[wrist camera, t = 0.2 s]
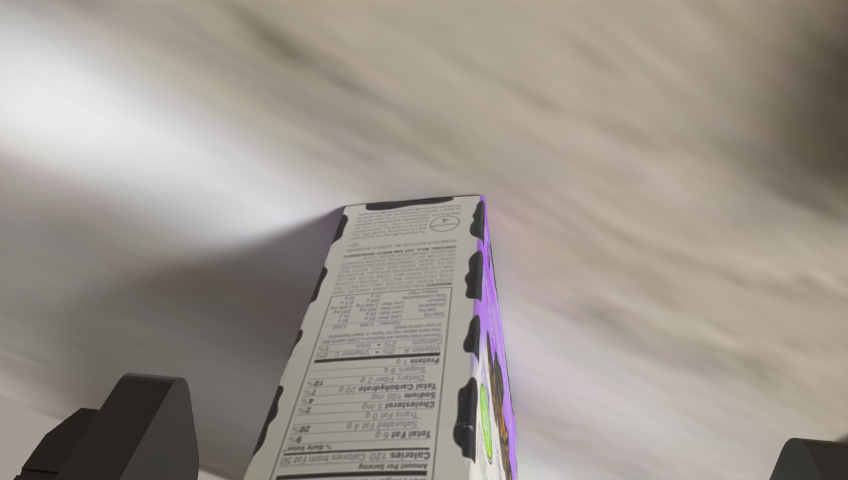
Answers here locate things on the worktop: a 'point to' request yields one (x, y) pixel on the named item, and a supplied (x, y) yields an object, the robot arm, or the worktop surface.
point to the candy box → (397, 355)
